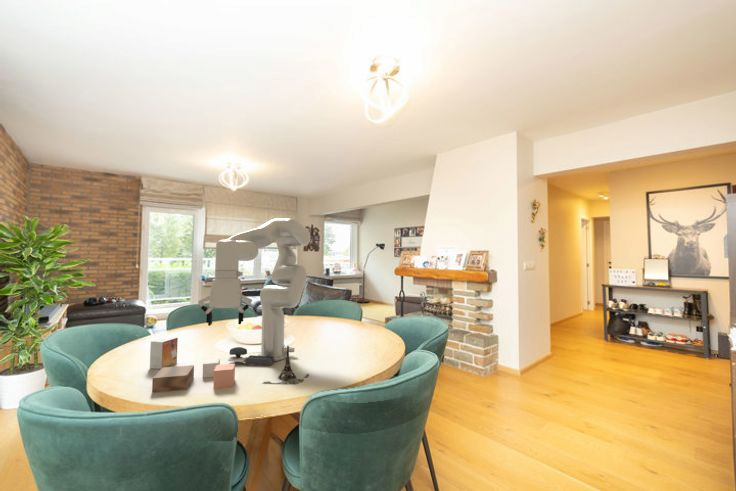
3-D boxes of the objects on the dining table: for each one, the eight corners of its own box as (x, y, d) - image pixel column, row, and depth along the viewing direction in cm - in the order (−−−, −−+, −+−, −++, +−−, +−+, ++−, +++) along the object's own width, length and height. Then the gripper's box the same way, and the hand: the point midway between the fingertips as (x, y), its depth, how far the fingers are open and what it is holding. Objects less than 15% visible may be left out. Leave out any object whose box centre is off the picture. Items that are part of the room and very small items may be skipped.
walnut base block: (193, 379, 117) (194, 365, 117) (186, 390, 107) (186, 375, 107) (162, 381, 114) (162, 367, 114) (152, 393, 104) (152, 378, 104)
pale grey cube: (219, 371, 124) (219, 358, 124) (217, 376, 119) (217, 362, 119) (205, 372, 122) (205, 359, 122) (202, 377, 117) (202, 363, 118)
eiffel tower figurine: (261, 385, 112) (262, 347, 113) (270, 374, 122) (270, 339, 123) (304, 386, 112) (304, 347, 113) (309, 375, 122) (310, 339, 123)
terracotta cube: (234, 380, 115) (235, 363, 116) (232, 387, 110) (233, 369, 110) (216, 382, 114) (216, 364, 114) (213, 388, 108) (213, 370, 108)
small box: (161, 369, 125) (162, 342, 125) (149, 368, 126) (150, 341, 126) (177, 362, 133) (178, 337, 133) (165, 361, 134) (166, 336, 134)
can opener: (225, 365, 131) (226, 349, 131) (231, 361, 136) (232, 346, 136) (270, 367, 130) (271, 351, 130) (275, 362, 135) (275, 347, 135)
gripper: (253, 274, 119) (252, 321, 118) (202, 274, 114) (200, 323, 114) (252, 275, 112) (250, 325, 111) (197, 275, 107) (195, 327, 106)
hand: (225, 324), depth 112 cm, fingers open, 9 cm apart
